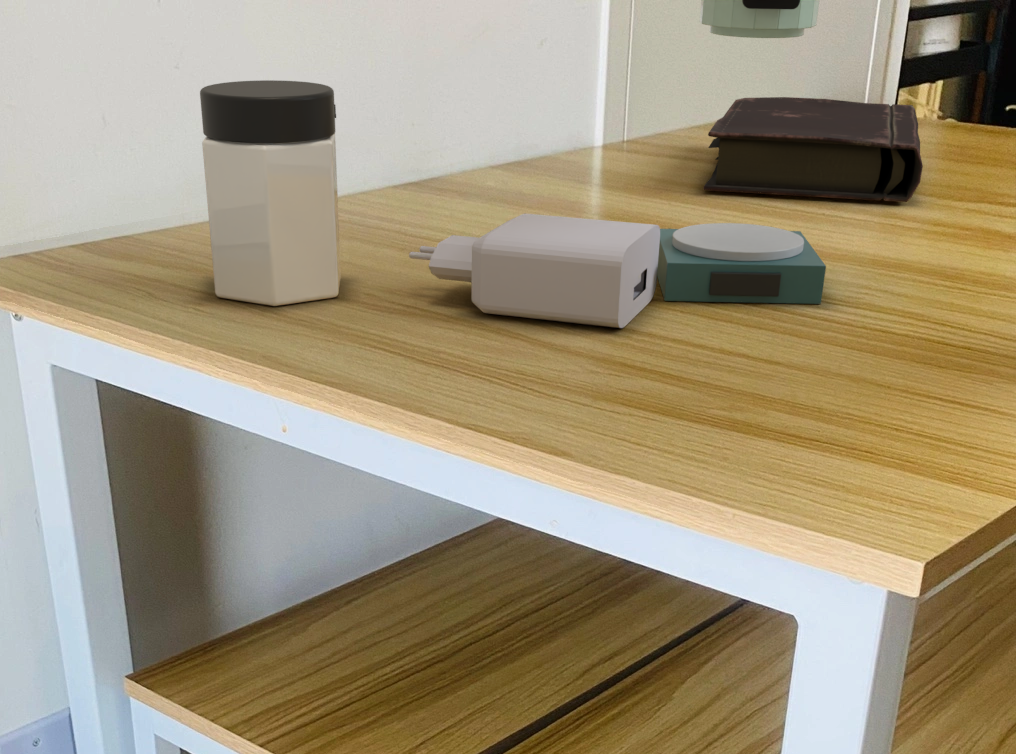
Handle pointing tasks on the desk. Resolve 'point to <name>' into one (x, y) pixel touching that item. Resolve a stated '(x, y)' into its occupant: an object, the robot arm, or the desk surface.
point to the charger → (555, 268)
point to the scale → (739, 265)
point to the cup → (757, 19)
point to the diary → (817, 149)
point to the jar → (272, 190)
